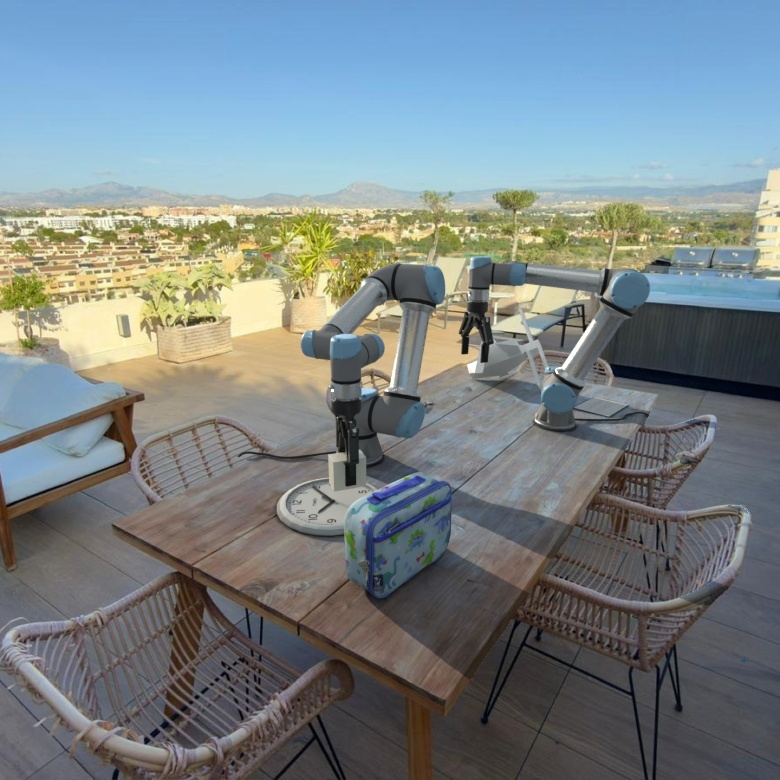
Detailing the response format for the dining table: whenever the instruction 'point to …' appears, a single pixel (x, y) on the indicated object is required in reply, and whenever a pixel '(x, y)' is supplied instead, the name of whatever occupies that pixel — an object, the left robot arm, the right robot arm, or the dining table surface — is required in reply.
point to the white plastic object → (508, 357)
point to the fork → (428, 402)
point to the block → (338, 471)
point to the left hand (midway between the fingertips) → (347, 480)
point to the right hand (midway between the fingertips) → (474, 358)
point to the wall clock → (318, 507)
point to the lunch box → (397, 532)
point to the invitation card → (601, 406)
